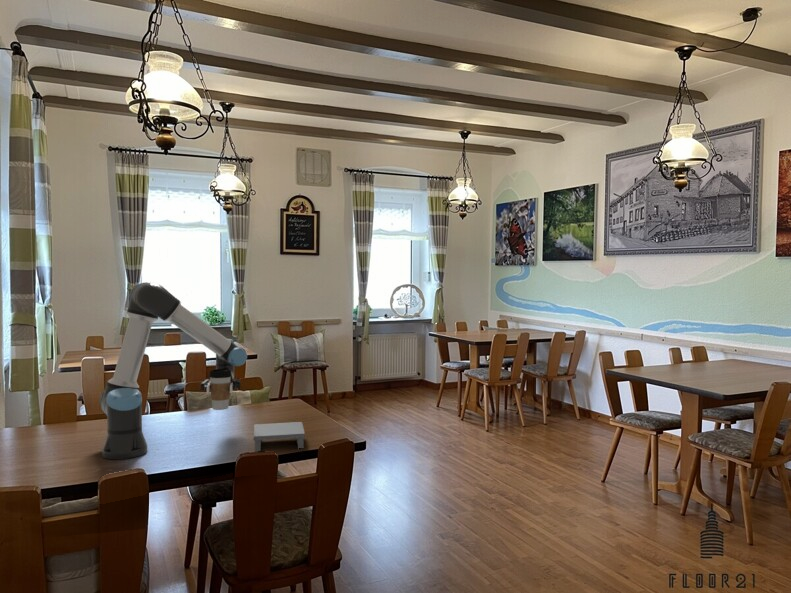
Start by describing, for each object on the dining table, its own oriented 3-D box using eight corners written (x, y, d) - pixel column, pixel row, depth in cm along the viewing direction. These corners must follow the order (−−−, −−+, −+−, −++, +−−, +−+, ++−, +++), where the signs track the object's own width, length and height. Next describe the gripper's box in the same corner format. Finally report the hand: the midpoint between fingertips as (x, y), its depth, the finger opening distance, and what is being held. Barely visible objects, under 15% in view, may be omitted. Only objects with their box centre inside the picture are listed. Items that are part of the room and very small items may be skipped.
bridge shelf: (253, 452, 216) (253, 436, 216) (254, 439, 234) (254, 424, 233) (304, 449, 220) (304, 433, 220) (301, 436, 238) (301, 421, 238)
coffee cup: (225, 411, 217) (225, 371, 216) (204, 410, 218) (204, 370, 218) (235, 406, 225) (235, 368, 224) (215, 405, 227) (215, 367, 226)
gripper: (249, 387, 241) (247, 398, 219) (197, 389, 237) (190, 400, 214) (249, 369, 241) (247, 379, 219) (197, 371, 236) (190, 380, 214)
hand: (219, 389), depth 217 cm, fingers closed on coffee cup, 8 cm apart
